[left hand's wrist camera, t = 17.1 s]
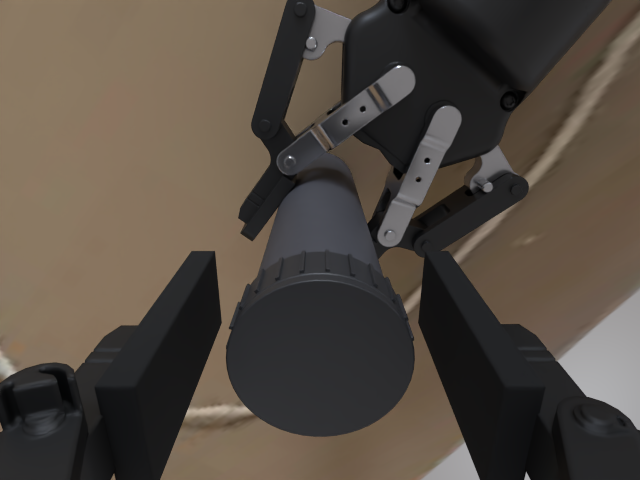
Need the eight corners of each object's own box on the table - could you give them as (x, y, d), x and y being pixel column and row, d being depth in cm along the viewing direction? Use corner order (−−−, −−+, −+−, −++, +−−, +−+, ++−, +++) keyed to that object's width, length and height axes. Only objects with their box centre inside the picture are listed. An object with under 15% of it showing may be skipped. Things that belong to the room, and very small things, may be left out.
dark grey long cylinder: (295, 144, 27) (256, 258, 10) (361, 161, 27) (425, 298, 11) (280, 207, 28) (224, 396, 12) (342, 223, 29) (373, 427, 12)
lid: (271, 409, 13) (264, 457, 12) (209, 277, 12) (191, 310, 10) (422, 370, 13) (437, 413, 11) (379, 225, 11) (389, 252, 10)
